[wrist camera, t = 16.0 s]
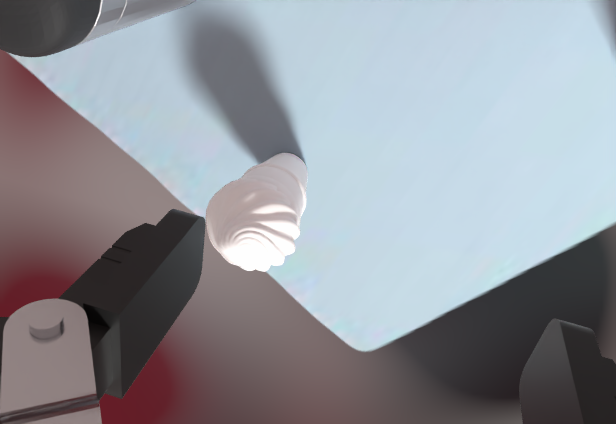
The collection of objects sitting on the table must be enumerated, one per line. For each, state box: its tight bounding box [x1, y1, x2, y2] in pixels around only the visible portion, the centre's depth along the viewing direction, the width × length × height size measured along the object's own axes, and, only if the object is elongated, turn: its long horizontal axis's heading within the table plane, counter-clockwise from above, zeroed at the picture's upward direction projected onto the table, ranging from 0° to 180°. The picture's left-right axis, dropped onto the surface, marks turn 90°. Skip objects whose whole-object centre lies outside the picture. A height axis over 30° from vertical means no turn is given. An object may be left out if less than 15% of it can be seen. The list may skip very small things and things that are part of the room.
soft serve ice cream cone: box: [206, 153, 308, 271], centre depth 48 cm, size 8×8×16 cm
